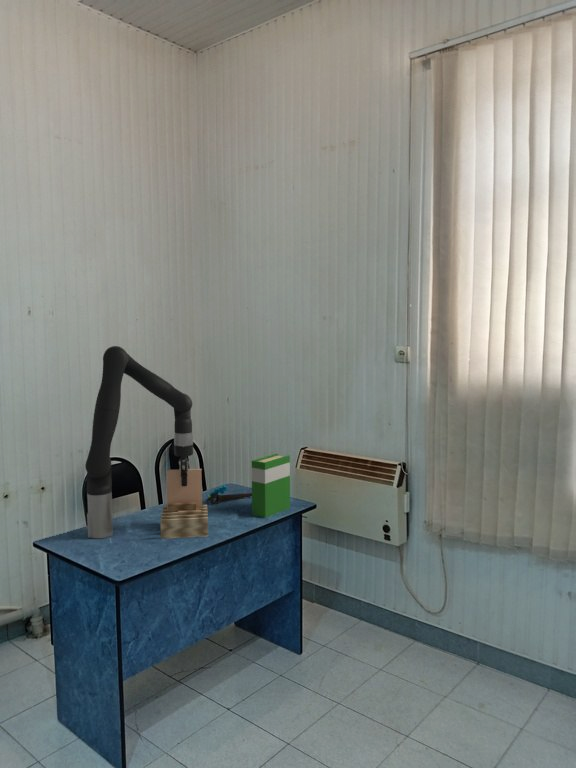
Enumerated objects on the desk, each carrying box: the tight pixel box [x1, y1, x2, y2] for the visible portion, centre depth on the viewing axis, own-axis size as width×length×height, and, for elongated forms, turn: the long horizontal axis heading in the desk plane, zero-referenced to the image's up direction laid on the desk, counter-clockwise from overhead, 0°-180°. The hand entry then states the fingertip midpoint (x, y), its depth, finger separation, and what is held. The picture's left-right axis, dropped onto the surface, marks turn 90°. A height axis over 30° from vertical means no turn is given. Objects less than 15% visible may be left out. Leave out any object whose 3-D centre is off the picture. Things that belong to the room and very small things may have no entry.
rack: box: [159, 504, 209, 540], centre depth 255 cm, size 18×19×8 cm
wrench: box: [205, 492, 252, 505], centre depth 299 cm, size 5×5×30 cm
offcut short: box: [178, 510, 201, 515], centre depth 253 cm, size 9×2×8 cm, turn 98°
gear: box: [206, 484, 228, 499], centre depth 299 cm, size 11×6×10 cm
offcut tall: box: [168, 502, 196, 513], centre depth 256 cm, size 11×2×10 cm, turn 98°
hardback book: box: [251, 453, 291, 519], centre depth 281 cm, size 18×7×24 cm, turn 143°
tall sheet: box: [166, 468, 203, 510], centre depth 260 cm, size 14×2×22 cm, turn 98°
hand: (184, 485), depth 259 cm, fingers closed on tall sheet, 1 cm apart
